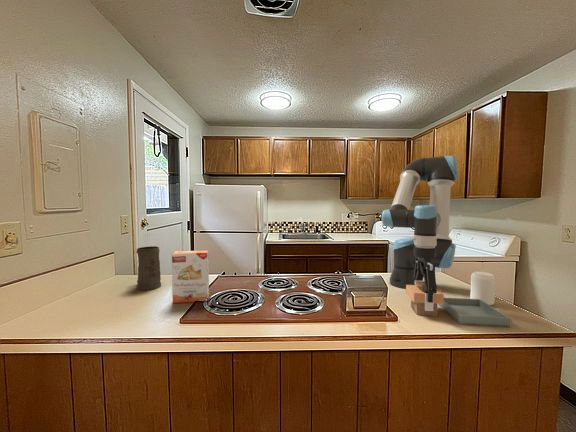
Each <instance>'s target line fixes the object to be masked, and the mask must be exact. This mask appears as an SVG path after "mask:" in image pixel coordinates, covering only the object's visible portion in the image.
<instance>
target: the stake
mask: <svg viewBox="0 0 576 432" xmlns="http://www.w3.org/2000/svg"><path fill="white" fill-rule="evenodd" d="M414 284H415V285H422V292H424V291H426V288H425V282H424V280H423V281H416V280H414ZM410 308H411V310H412V311H413V312H414V313H415V314H416V315H417V316H421V315H422V316H435V317H436V316H438V304H436V303H433V311H425V303H414V302H413V301H412V300H411V299H410Z"/></svg>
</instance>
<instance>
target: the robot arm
mask: <svg viewBox="0 0 576 432" xmlns="http://www.w3.org/2000/svg"><path fill="white" fill-rule="evenodd" d="M458 171H459V170H458V161H457V157H456V156H455V155H441V156H431V157H430V156H429V157H419V158H417V159H415V160H413V161H411V162H409V163H408V164H407V165H406V166H405V167H404V168H403V169H402V171H401V172H400V175H399V181H400V182H399V184H398V186H397V189H396V192H395V195H394V197H393V200H392V203H391V206H390V209H389V208H388V209H384V210H383V211H382V213H381V222H382V223H381V224H382V225H383V226H384V227H388V228H406V229H407V228H409V229H414V231H413V234H414V235H413V236H414V237H408V238H399V239H398V238H397V239H396V240H395V241H394V242H393V248H392V250H393V262H392V263H393V268H392V270H391V274H390V277H389V284H390V285H391V286H393V287H396V288H400V289H406V285H415V284H414V280H416V281H424V282H425V288H426V291H424V293H425V311H433V303H434V293H437V289H438V288H437V279H436V269H437V268H438V269H450V268H451V267H452V266H453V263H454V259H455V255H456V244H455V243H453V239H452V238H450V236H449V235H450V234H449V233H450V230H449V229H450V209H451V190H452V189H451V187H452V186H454V185H455V181H457V180H458V179H459V172H458ZM420 182H426V183H427V185H428V186H429V187H430V192H429V205H425V204H424V205H422V204H421V205H416V206H415V207H414V209H410V207H411V204H412V201H413V198H414V194H415V191H416V188H417V185H418V184H419V183H420ZM436 288H437V289H436ZM431 289H432V290H431Z"/></svg>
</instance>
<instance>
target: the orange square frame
mask: <svg viewBox="0 0 576 432" xmlns="http://www.w3.org/2000/svg"><path fill="white" fill-rule="evenodd" d="M436 289H437V293H434V303H436V304H437V305H439V304H444V298H445V294H444V293H443V290H442V289H441V288H437V287H436ZM431 290H432V289H431ZM405 294H406V295H407V297H409V299H410V301H411V300H412V301H413V302H414V303H425V293H424V292H422V285H406V288H405Z"/></svg>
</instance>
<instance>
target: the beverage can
mask: <svg viewBox="0 0 576 432" xmlns="http://www.w3.org/2000/svg"><path fill="white" fill-rule="evenodd" d="M495 293H496V276H494V274H493V273H491V272H490V273H489V272H486V271H473V272H472V273H471V275H470V295H469V296H470V297H469V299H481V300H482V301H484V302H485V303H487V304H489V305H490V306H492V305H494V304H495V298H496V297H495V296H496V295H495Z"/></svg>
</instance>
